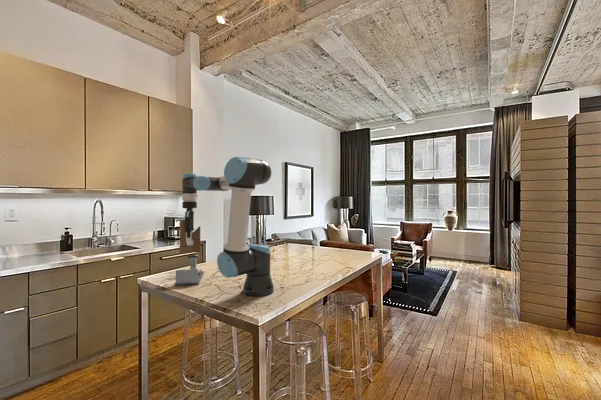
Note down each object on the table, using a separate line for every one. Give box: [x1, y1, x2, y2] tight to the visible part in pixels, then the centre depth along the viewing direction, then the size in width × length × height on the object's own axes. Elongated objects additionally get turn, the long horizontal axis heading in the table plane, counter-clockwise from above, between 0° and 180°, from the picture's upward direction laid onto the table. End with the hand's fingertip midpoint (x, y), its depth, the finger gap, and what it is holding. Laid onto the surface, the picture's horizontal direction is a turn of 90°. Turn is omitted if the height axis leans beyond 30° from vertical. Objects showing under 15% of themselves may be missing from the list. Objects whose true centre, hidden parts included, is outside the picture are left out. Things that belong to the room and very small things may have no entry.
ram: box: [187, 254, 200, 269], centre depth 168 cm, size 5×6×10 cm
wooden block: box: [179, 219, 201, 254], centre depth 158 cm, size 4×11×18 cm, turn 115°
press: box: [174, 268, 205, 287], centre depth 160 cm, size 24×12×8 cm, turn 12°
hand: (189, 242), depth 158 cm, fingers closed on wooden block, 4 cm apart
